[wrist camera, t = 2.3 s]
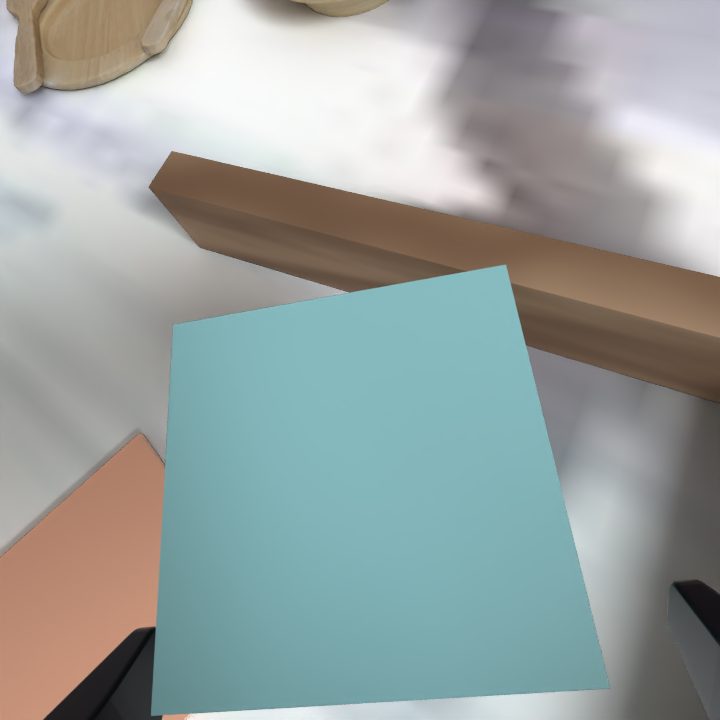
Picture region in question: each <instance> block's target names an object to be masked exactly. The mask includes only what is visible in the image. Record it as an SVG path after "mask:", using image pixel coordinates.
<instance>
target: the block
mask: <svg viewBox="0 0 720 720" xmlns="http://www.w3.org/2000/svg"><path fill="white" fill-rule="evenodd" d="M593 689H610V686H609V681H608V677H607V673H606V669H605V665H604V661H603V657H602V653H601V649H600V645H599V641H598V637H597V633H596V629H595V625H594V621H593V616H592V612H591V608H590V604H589V600H588V596H587V592H586V588H585V584H584V580H583V576H582V572H581V568H580V564H579V560H578V555H577V551H576V547H575V543H574V539H573V535H572V531H571V527H570V523H569V519H568V515H567V511H566V507H565V503H564V499H563V495H562V490H561V486H560V482H559V478H558V474H557V470H556V466H555V462H554V458H553V454H552V450H551V446H550V442H549V438H548V434H547V430H546V425H545V421H544V417H543V413H542V409H541V405H540V401H539V397H538V393H537V389H536V385H535V381H534V377H533V373H532V369H531V365H530V360H529V356H528V352H527V348H526V344H525V340H524V336H523V332H522V328H521V324H520V320H519V316H518V312H517V308H516V304H515V299H514V295H513V291H512V287H511V283H510V279H509V275H508V271H507V267H506V265H501V266H495V267H490V268H484V269H478V270H473V271H467V272H462V273H456V274H451V275H445V276H440V277H434V278H429V279H423V280H417V281H412V282H406V283H401V284H395V285H390V286H384V287H379V288H373V289H368V290H362V291H357V292H351V293H345V294H340V295H334V296H329V297H323V298H318V299H312V300H307V301H301V302H296V303H290V304H284V305H279V306H273V307H268V308H262V309H257V310H251V311H246V312H240V313H235V314H229V315H223V316H218V317H212V318H207V319H201V320H196V321H190V322H185V323H179V324H174V325H173V337H172V354H171V372H170V389H169V407H168V424H167V442H166V460H165V477H164V495H163V512H162V530H161V547H160V565H159V582H158V600H157V617H156V635H155V652H154V670H153V688H152V705H151V716H158V715H175V714H192V713H208V712H225V711H242V710H259V709H275V708H292V707H309V706H326V705H342V704H359V703H376V702H393V701H409V700H426V699H443V698H459V697H476V696H493V695H510V694H526V693H543V692H560V691H577V690H593Z"/></svg>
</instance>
